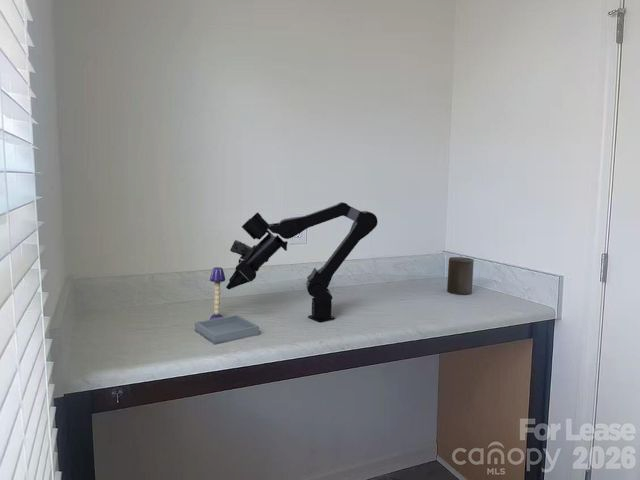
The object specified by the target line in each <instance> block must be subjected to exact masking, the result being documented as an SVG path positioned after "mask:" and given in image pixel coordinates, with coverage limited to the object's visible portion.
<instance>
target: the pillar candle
mask: <svg viewBox="0 0 640 480" xmlns="http://www.w3.org/2000/svg"><path fill="white" fill-rule="evenodd" d="M474 260H475V259H474V258H470V257H463V256H452V257H451V256H450V257H449V258H448V264H447V265H448V267H447V281H446V283H447V286H446V292H448V293H449V294H454V295H460V296H461V295H462V296H465V295H467V294H468V295H472V293H473V281H474V278H473V277H474V262H475V261H474Z"/></svg>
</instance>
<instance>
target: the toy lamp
mask: <svg viewBox="0 0 640 480" xmlns="http://www.w3.org/2000/svg"><path fill="white" fill-rule="evenodd" d="M224 272H225V271H224V269H223V267H217V266H216V267H213V268H212V270H211V275H210V277H209V281H210V282H212V283H214V287H213V288H214V294H213V295H214V296H213V297H214V298H213V300H214V302H213V304H214V305H213V309H214V310H213V314H212V315H211V316H210V318H209V320H211V319H217V318H222V317H224V316H223V315H222V314H221V313H220V309H221V307H220V306H221V301H220V300H221V291H220V290H221V283H222V282H223V283H224V282H225V281H226V277H225V273H224Z"/></svg>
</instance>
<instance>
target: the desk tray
mask: <svg viewBox="0 0 640 480" xmlns="http://www.w3.org/2000/svg"><path fill="white" fill-rule="evenodd" d="M194 331H195V332H196V333H198V334H199V335H201V336H202V337H203V338H205V339H206V340H207V341H209V342H211V343H212V344H213V345H214V346H215V345H219V344H224V343H228V342H232V341H237V340H242V339H246V338H251V337H255V336H260V325H257V324H256V323H254V322H252V321H249V320H248V319H246V318H244V317H242V316H240V315H239V314H234V315H228V316H223V317H222V318H217V319H211V320H210V319H207V320H206V319H205V320H201V321H195V322H194Z"/></svg>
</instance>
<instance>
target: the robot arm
mask: <svg viewBox="0 0 640 480" xmlns="http://www.w3.org/2000/svg"><path fill="white" fill-rule="evenodd" d="M340 217H346V218H348V219H350V220H351V221H353V223H352V224H351V227H350V230H349V232H348V233H347V235H346V236H345V237H344V239H343V240H342V241H341V242H340V244H339V245H338V246H337V248H336V249H335V250H334V252H333V253H332V254H331V256H330V257H329V258H328V259H327V261H326V262H325V263H324V265H323V266H322V267H320V268H319V269H317V268H316V267H314V268H313V269H312V271H311V273H310V274H309V275H308V276H306V278H307V280H306V284H305V286H306V289H307V293H308V294H309V296H311V297H312V298H311V315H307V318H309V319H311V320H313V321H316V322H317V323H324V322H327V321H331V320H332V321H333V320H335V319H336V317H335V316H332V301H333V295H332V293H331V291H330V290H329V288H328V287H329V286H330V283H331V281H332V278H333V276H334V274H335V273H336V272H337V270H338V269H339V268H340V267H341V266H342V264H343V263H344V261H345V260H346V259H347V257H348V256H349V255H350V254H351V252H352V251H353V249H355V247H356V245H358V243H359V242H360V241H361V240H362V239H363V238H365V237H367V236H368V235H369V234H370V233H371V232H373V231H374V229H376V228H377V225H378V218H377V215H376V214H374V213H373V212H371V211H367V210H358V208H355V207H353V206H351V205H349V204H348V203H345V202H342V201H341V202H338V203H337V204H333V205H331V206H328V207H326V208H324V209H320V210H318V211H314V212H312V213H308V214H306V215H302V216H295V217H289V218H284V219H282V220H280V221H279V222H276V223H273V222H272V223H268V222H267V220H265V219H264V218H263V216H262V214H260V213H259V212H256V213H255V214H254V215H252V217H250V218H249V219H247V221H245V223H244V224H243V225H241V228H242V229H243V231H245V232H246V233H247V234H248V235H249V236H250V238H252V239H253V240H258V241H259V240H260V241H259V242H258V243H257V244H254V245H253V246H252V247H251V246H249V245H248V244H246V243H245V242H242V241H239V240H236V239H235V240H234V241H233V243H232V245H231V247H230V252H232V253H235V254H237V255H239V256H240V257H239V259H238V264H237V265H236V266H235V270H234V272H233V273H232V274H231V276H230V278H229V279H228V280H229V281H228V284H227V285H226V286H225V288H226V289H227V290H231V289H234V288H236V287H239V286H242V285H244V284H247V283H250V282H253V281H254V280H255V279H256V278H257V272H258V271H259V270H260V268H261V267H262V266H263V265H264V264H266V263H268V262H269V260H270V258H271V257H272V256H274V254H275V253H277V252H278V250H280V249H281V248H282V249H283V250H284V251H288V240H289V239H293V238H294V237H296V236H298V235H300V234H301V233H302V232H303V231H305V230H307V229H309V228H312V227H315V226H317V225H320V224H322V223H326V222H329V221H332V220H334V219H337V218H340ZM266 234H267V235H266ZM274 234H277V235H274ZM283 239H285V241H284V240H283Z"/></svg>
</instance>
